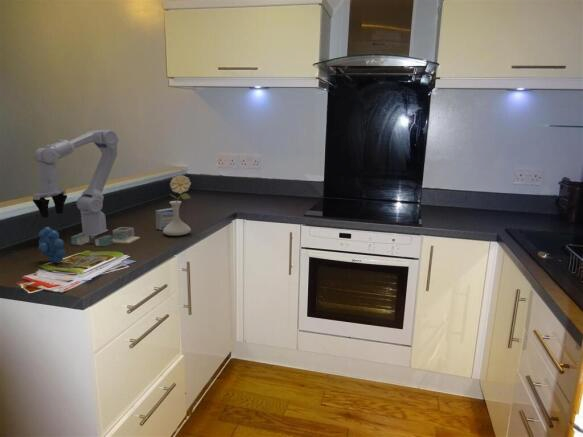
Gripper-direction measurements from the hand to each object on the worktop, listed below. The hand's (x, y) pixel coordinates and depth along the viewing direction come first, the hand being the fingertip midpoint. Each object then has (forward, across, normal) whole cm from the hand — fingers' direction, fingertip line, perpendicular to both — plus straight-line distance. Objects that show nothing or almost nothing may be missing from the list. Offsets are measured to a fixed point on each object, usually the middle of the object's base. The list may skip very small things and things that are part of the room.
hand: (52, 215), depth 164 cm
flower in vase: (+10, +20, -42) cm, 48 cm away
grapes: (+11, -24, -18) cm, 32 cm away
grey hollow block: (+10, +7, -25) cm, 28 cm away
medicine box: (+10, +29, -32) cm, 45 cm away
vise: (+10, 0, -16) cm, 19 cm away
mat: (+10, +7, -25) cm, 28 cm away
